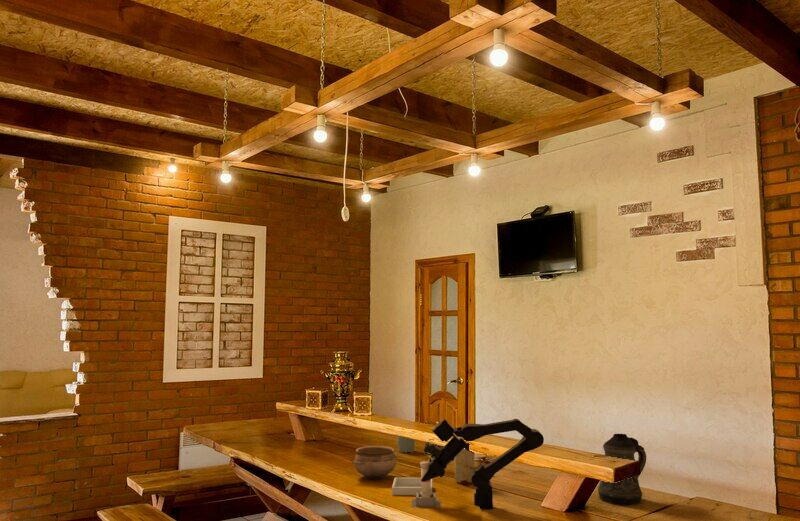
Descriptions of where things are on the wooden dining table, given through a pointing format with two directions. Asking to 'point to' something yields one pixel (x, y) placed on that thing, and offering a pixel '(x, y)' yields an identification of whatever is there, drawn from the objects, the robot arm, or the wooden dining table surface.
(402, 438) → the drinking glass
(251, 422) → the wooden dining table surface
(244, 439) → the wooden dining table surface
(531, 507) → the wooden dining table surface
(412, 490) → the tray
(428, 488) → the fuse
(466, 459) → the food model
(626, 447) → the black jug
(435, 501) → the fuse block
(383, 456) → the cooking pot
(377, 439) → the wooden dining table surface
